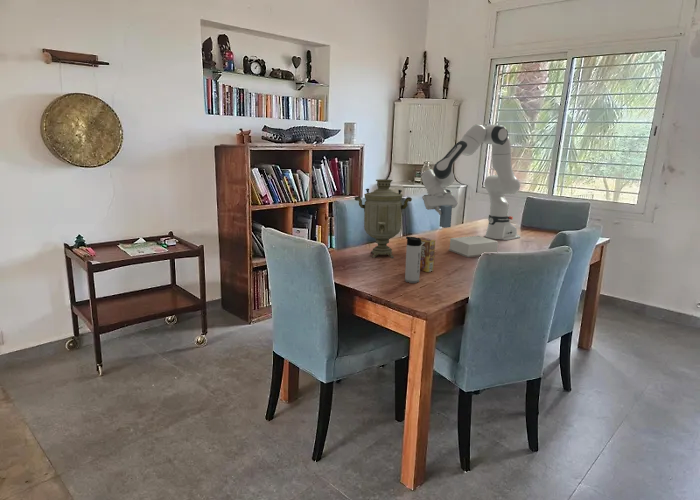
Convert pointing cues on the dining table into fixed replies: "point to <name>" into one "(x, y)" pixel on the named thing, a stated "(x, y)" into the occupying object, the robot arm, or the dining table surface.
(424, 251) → the candy box
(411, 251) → the travel mug
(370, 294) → the dining table surface
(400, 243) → the dining table surface
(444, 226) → the grey tall block
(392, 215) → the samovar
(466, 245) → the riser
